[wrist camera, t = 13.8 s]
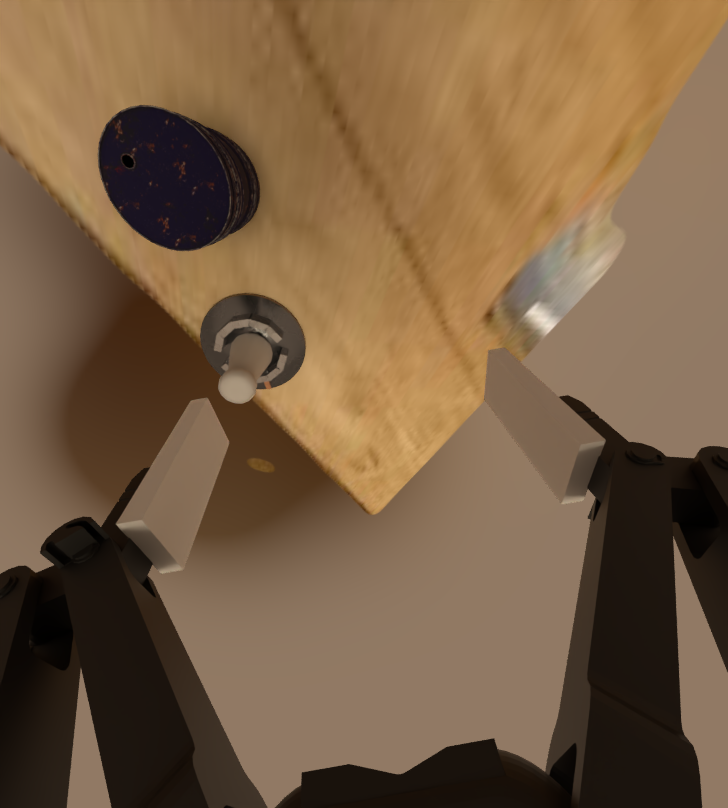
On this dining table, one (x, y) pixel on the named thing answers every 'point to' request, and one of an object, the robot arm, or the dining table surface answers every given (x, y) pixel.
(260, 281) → the dining table surface
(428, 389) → the dining table surface
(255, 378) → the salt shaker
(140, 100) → the dining table surface
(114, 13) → the dining table surface
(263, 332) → the socket
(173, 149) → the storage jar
